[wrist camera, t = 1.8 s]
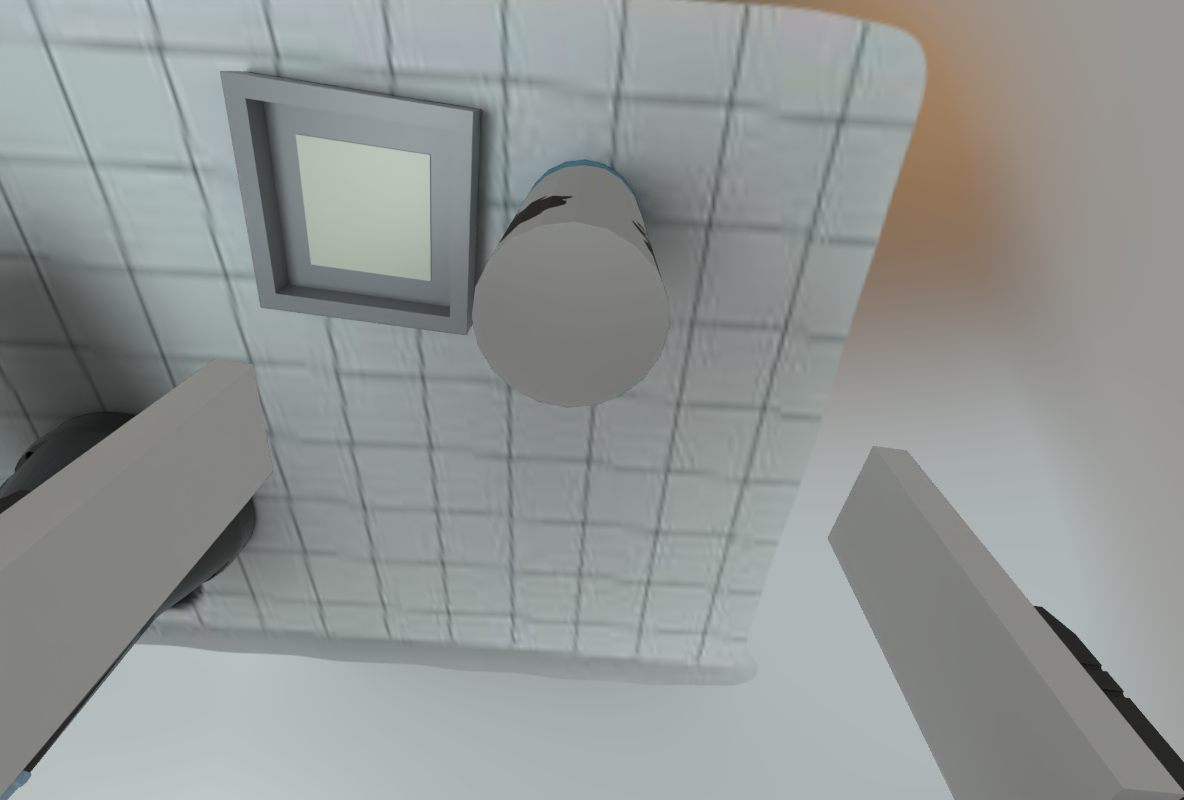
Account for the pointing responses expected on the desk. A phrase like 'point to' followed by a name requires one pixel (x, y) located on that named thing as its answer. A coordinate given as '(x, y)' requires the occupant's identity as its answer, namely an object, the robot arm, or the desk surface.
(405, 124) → the tray
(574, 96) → the desk surface
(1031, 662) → the robot arm
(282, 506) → the desk surface
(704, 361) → the desk surface
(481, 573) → the desk surface
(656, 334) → the cup
